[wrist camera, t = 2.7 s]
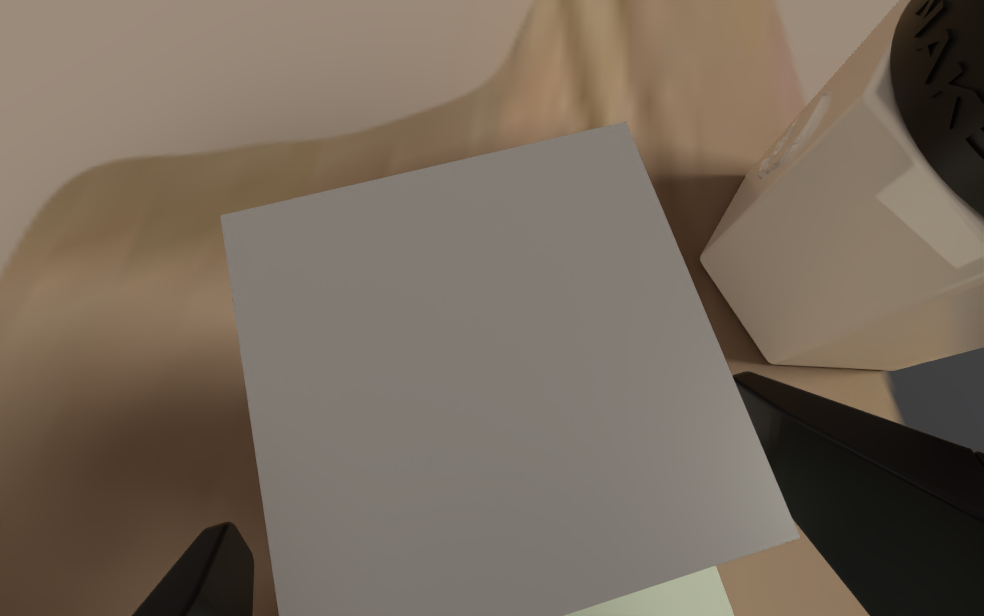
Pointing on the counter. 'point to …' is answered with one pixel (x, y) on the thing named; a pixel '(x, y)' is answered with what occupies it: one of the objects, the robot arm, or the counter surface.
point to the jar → (870, 206)
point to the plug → (490, 390)
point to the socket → (670, 599)
